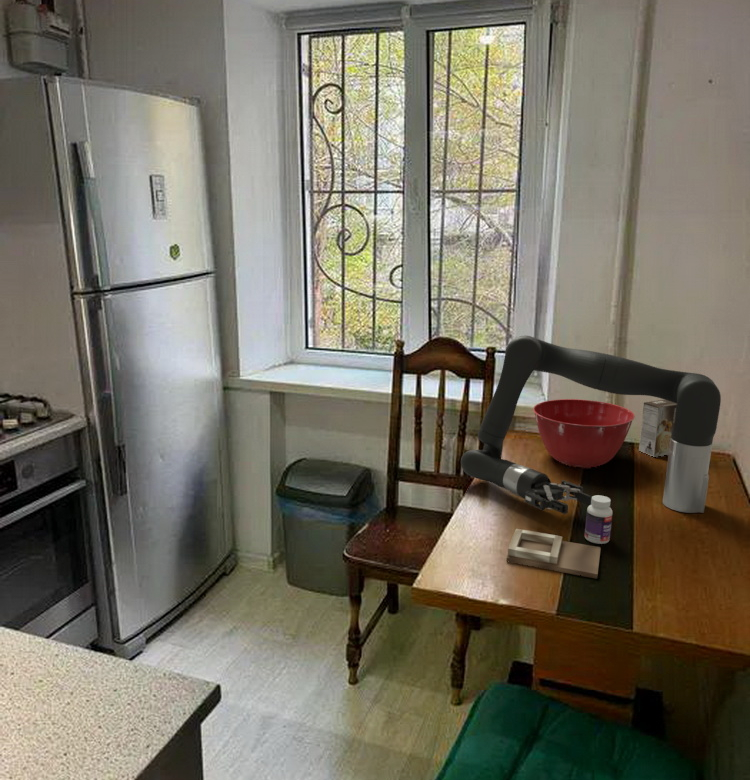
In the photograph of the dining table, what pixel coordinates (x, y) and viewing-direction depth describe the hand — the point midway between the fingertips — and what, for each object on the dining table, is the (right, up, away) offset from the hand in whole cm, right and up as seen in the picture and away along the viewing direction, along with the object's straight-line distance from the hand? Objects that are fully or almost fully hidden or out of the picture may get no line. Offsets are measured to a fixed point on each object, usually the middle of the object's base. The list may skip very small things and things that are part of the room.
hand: (579, 505), depth 151 cm
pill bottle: (+3, -7, -3) cm, 8 cm away
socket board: (-9, -9, -11) cm, 17 cm away
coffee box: (+40, +7, +53) cm, 67 cm away
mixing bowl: (+14, +5, +46) cm, 48 cm away
